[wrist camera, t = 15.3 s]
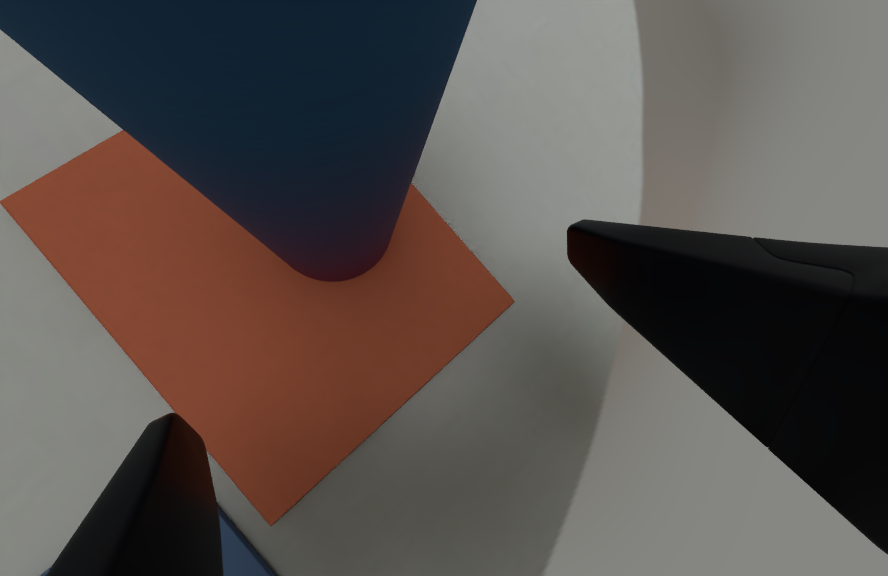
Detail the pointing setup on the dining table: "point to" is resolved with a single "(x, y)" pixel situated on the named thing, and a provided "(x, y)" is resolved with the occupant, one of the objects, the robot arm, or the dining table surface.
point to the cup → (267, 104)
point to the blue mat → (236, 553)
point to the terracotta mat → (255, 314)
